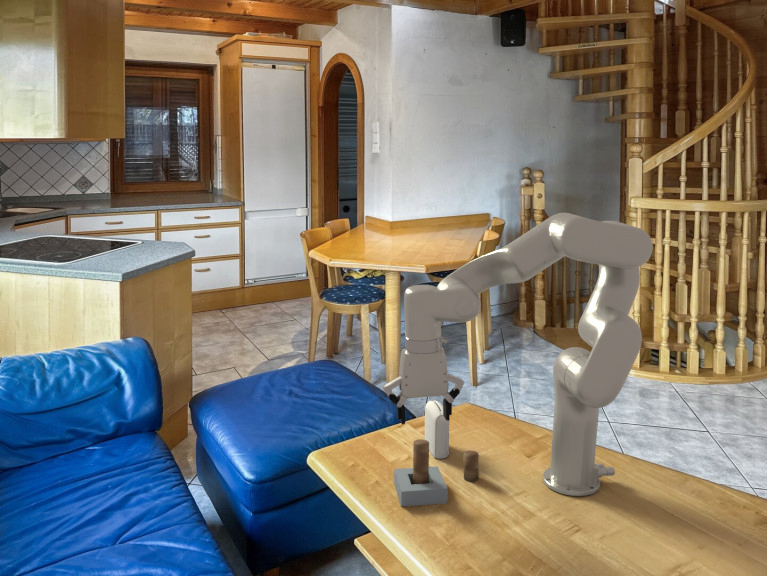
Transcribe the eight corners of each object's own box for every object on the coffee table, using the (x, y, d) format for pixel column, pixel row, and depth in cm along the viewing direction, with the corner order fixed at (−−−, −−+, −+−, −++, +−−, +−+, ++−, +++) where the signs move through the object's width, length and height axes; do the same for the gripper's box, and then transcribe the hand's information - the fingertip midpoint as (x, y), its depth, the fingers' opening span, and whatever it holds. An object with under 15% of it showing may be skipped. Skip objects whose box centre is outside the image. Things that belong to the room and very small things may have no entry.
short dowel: (474, 473, 159) (474, 449, 158) (481, 479, 156) (480, 455, 155) (461, 475, 158) (460, 452, 157) (467, 482, 155) (467, 458, 154)
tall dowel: (426, 488, 152) (427, 439, 150) (429, 496, 149) (430, 445, 146) (411, 489, 152) (412, 439, 149) (414, 497, 149) (415, 446, 146)
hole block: (437, 480, 156) (437, 466, 155) (447, 503, 146) (447, 488, 146) (394, 483, 155) (394, 469, 154) (401, 506, 145) (401, 491, 144)
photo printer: (422, 442, 175) (423, 396, 173) (438, 440, 176) (439, 395, 174) (433, 460, 166) (434, 412, 163) (450, 458, 167) (452, 411, 164)
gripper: (459, 336, 148) (459, 409, 152) (379, 341, 145) (382, 416, 149) (467, 346, 140) (468, 423, 144) (384, 352, 138) (387, 430, 142)
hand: (424, 420), depth 147 cm, fingers open, 9 cm apart
